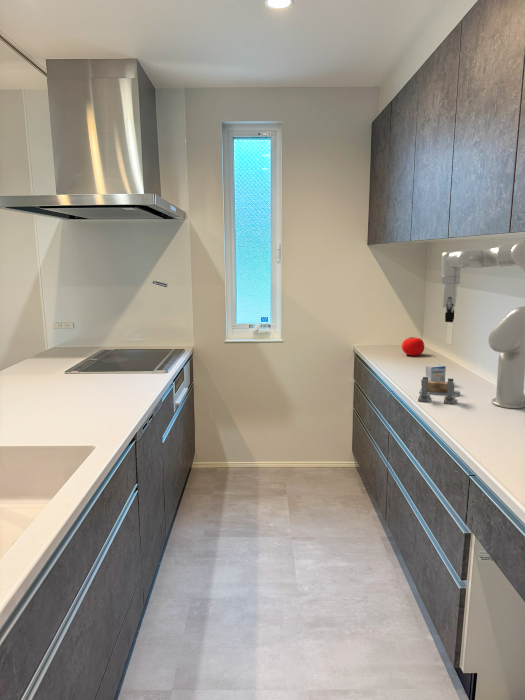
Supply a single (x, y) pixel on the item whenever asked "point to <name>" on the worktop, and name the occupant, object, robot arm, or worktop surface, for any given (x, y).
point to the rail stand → (425, 398)
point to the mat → (456, 393)
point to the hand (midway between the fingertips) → (449, 320)
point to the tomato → (413, 346)
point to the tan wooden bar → (437, 387)
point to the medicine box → (436, 373)
